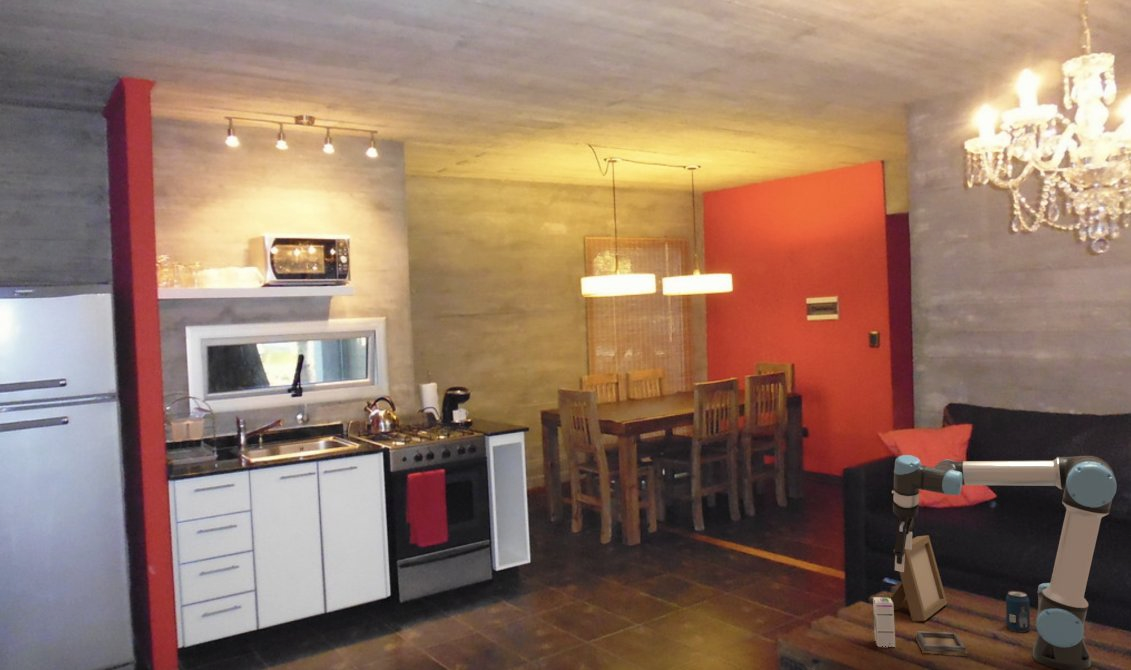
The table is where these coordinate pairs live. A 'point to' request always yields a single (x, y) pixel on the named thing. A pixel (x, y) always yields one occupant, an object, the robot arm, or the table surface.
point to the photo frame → (920, 581)
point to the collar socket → (940, 643)
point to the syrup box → (884, 622)
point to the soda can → (1017, 611)
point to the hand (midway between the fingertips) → (903, 559)
